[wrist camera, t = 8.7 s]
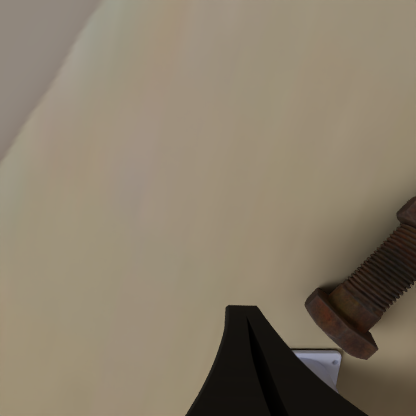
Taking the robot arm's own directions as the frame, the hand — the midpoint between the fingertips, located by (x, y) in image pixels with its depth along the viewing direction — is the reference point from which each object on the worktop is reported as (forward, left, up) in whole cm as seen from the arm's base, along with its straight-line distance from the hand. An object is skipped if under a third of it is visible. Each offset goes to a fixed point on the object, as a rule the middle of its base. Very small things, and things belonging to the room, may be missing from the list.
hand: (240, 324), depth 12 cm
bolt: (-1, -13, -10) cm, 17 cm away
